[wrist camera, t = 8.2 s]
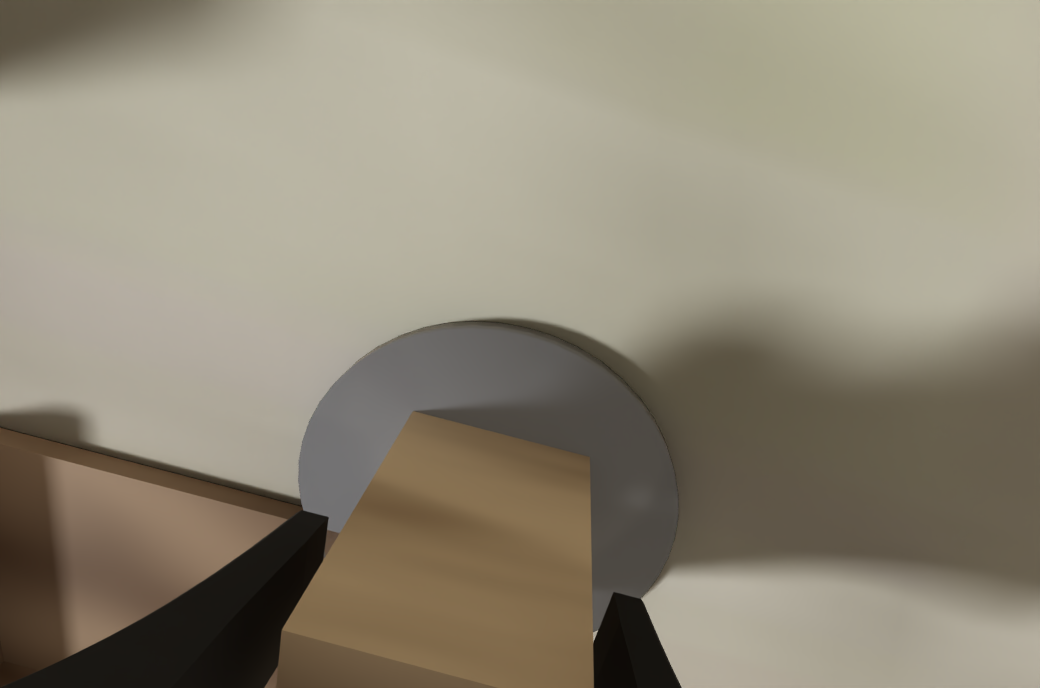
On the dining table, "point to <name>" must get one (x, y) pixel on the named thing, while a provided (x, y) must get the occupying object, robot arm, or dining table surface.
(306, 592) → the oak block
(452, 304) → the dining table surface
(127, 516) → the crate
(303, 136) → the dining table surface
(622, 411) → the slate coaster
